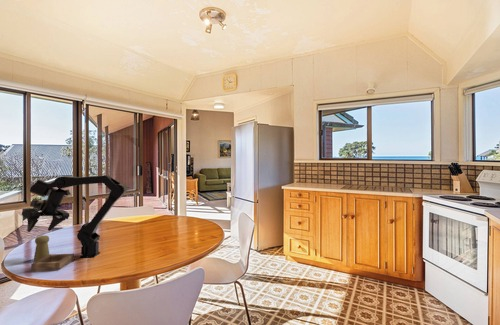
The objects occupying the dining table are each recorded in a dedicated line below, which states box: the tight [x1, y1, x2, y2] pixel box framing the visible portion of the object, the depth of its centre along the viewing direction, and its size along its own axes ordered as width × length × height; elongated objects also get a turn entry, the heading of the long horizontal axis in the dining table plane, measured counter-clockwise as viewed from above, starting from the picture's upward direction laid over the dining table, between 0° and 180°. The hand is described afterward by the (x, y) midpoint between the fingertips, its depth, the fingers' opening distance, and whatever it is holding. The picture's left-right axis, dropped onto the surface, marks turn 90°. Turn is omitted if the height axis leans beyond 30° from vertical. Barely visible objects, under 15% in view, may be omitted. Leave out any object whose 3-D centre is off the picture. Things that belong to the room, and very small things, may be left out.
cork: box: [33, 235, 50, 263], centre depth 117 cm, size 6×6×11 cm
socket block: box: [30, 253, 75, 272], centre depth 110 cm, size 11×11×3 cm
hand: (38, 231), depth 117 cm, fingers open, 9 cm apart
